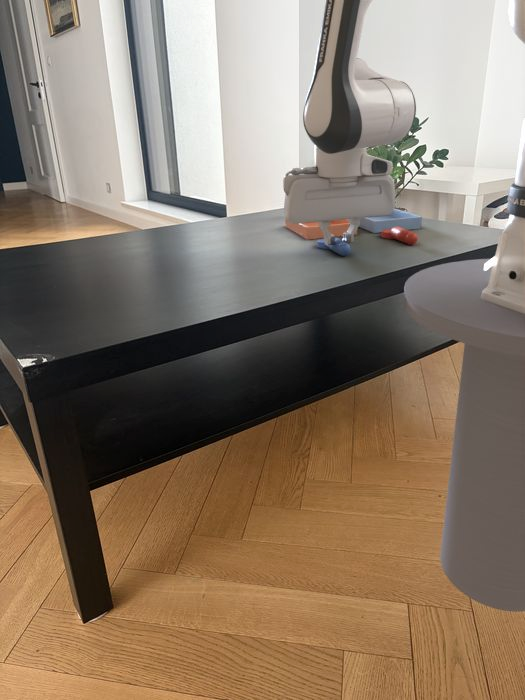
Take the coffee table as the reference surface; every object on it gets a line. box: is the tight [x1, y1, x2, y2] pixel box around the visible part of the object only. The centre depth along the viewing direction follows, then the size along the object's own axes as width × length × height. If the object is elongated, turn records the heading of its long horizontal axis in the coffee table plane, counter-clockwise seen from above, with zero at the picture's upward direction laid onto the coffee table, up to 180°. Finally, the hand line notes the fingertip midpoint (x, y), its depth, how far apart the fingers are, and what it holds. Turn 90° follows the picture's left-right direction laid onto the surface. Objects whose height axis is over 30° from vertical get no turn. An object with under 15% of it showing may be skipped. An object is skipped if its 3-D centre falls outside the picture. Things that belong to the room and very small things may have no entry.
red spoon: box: [380, 227, 419, 246], centre depth 109 cm, size 11×4×2 cm, turn 15°
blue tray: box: [358, 208, 423, 234], centre depth 124 cm, size 15×11×2 cm
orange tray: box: [284, 218, 358, 241], centre depth 121 cm, size 15×11×2 cm
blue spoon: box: [317, 237, 352, 257], centre depth 103 cm, size 11×4×2 cm, turn 15°
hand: (339, 243), depth 101 cm, fingers closed on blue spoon, 2 cm apart
